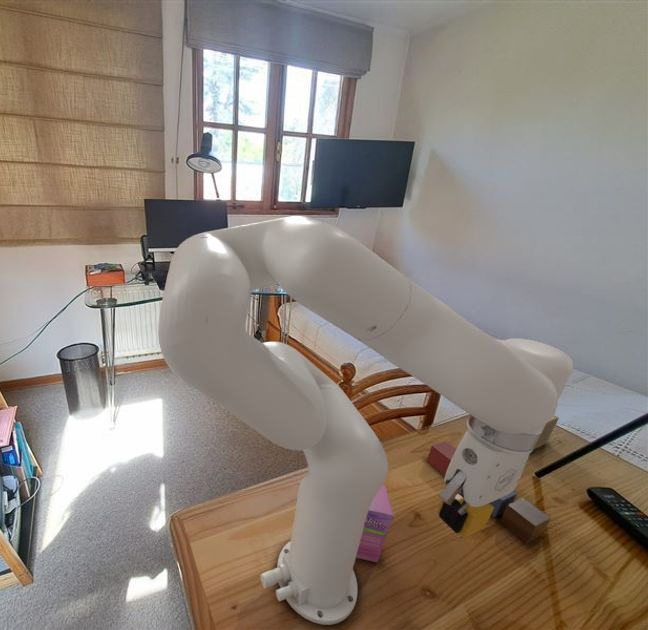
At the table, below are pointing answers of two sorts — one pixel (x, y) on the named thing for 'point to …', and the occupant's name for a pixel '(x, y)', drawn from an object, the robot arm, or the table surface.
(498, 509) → the cube
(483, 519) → the letter block
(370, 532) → the box
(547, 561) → the table surface
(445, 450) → the cube
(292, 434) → the robot arm
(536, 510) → the cube
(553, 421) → the ink box
